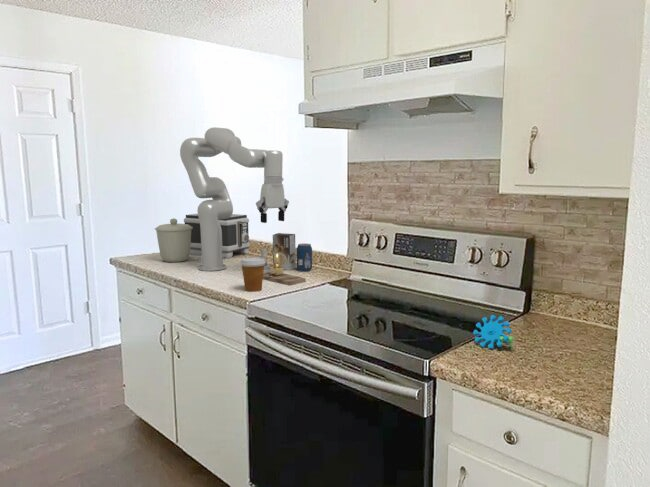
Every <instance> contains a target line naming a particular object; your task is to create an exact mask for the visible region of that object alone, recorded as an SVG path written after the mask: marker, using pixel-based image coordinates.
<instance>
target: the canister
mask: <svg viewBox="0 0 650 487" xmlns="http://www.w3.org/2000/svg"><path fill="white" fill-rule="evenodd" d="M169 222H170V223H165V224H160V225H157V227H155V228H154V230H155V231H156V238H157V244H158V248H159V249H158V250H159V254H160V257H161V260H162V261H164V262H167V263H180V262H181V263H182V262H184V261H187V260H188V259H189V257H190V255H191V254H190V245H191V230H192V229H193V227H191V226H190V225H188V224H185V223H178V219H176V218H175V217H174V218H173V217H172V218H171V219H169Z"/></svg>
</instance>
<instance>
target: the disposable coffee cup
mask: <svg viewBox="0 0 650 487" xmlns="http://www.w3.org/2000/svg"><path fill="white" fill-rule="evenodd" d="M239 264H240V265H241V268H242V277H243V283H244V284H243V285H244V289H245V291H246V292H252V293H253V292H260V291H262V290H263V281H264V279H263V272H264V265H265V260H264V258H261V256H260V257H259V256H248V257H243V258H241V260H240V262H239Z"/></svg>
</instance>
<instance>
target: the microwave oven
mask: <svg viewBox="0 0 650 487" xmlns="http://www.w3.org/2000/svg"><path fill="white" fill-rule="evenodd" d="M183 222H184V224H188V225H190V226H191V227H193V229H192V230H191V245H190V255H193V256H200V257H202V256H201V231H200V221H199V217H198V213H190V214H185V217H184V218H183ZM218 222H219V224H220V226H221V229H222V252H223V259H225V260H226V259H227V260H228V259H231V258H232V257H233V255H234V254H241V255H249V254H250V247H251V242H250V240H249V239H250V236H249V222H250V219H249V218H248V215H247V214H239V213H236V214H235V213H232V215H231V217H229V218H227V219H222V220H218ZM248 253H249V254H248Z"/></svg>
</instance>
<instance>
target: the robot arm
mask: <svg viewBox="0 0 650 487" xmlns="http://www.w3.org/2000/svg"><path fill="white" fill-rule="evenodd" d="M222 153H224V154H225V155H228V156H229V158H230V160H232V162H235V163H237V164H238V165H241V166H243V167H244V168H250V169H251V168H252V169H253V168H255V169H257V168H259V169H263V168H264V169H263V173H264V174H263V184H262V185H261V190H260V196H259V197H260V198H259V200H258V201H256V202H255V205H256V207H257V208H256V209H257V210H258V213H260V223H263V224H266V223H268V222H267V221H268V213H267V212H268V210H269V209H278V210H279V211H278V213H277V217H278V218H277V220H278V221H279V222H285V212H286V210H287V209H288V206H289V204H290V201H289V199H287V198H285V189H284V184H283V181H284V177H283V162H284V161H283V159H284V158H283V152H282V151H281V150H272V149H270V150H267V149H258V148H257V149H254V148H253V149H252V148H247V147H245V146H243V145H242V140H241V139H240V137H238V136H236V135H235V133H234V132H233V130H231V129H229V128H227V127H225V128H223V127H210V128H208V129H207V130H206V131H205V133H204V137H190V138H186V139H185V140H183V141H182V143H181V145H180V149H179V156H180V160H181V162H182V164H183V166H184V169H185V171H186V173H187V176H188V179H189V182H190V184H191V187H192V191H193V193H194V195H195V196H196V198H198V199H206V200H203V201H200V203H199V204H198V206H197V214H198V217H199V221H200V231H201V256H200V258H199V259H198V262H199V263H200V265H198V270H199V271H202V272H203V271H205V272H210V271H211V272H214V271H223V270H225V269H226V268H227V265H226V264H224V260H223V259H224V258H223V252H222V229H221V226H220V224H219V222H218V220H222V219H227V218H229V217H231V215H232V214H234V213H233V212H234V207H233V206H234V205H233V203H232V199H231V197H230V193H229V191H228V188H227V185H226V184H225V182H224V181H223V179H221V178H219V177H217V176H216V177H212V176H210V175H209V173H208V171H207V168H206V166H205V164H204V163H203V162H202V161H201V160H200V158H214V157H216V156H217V155H220V154H222Z"/></svg>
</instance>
